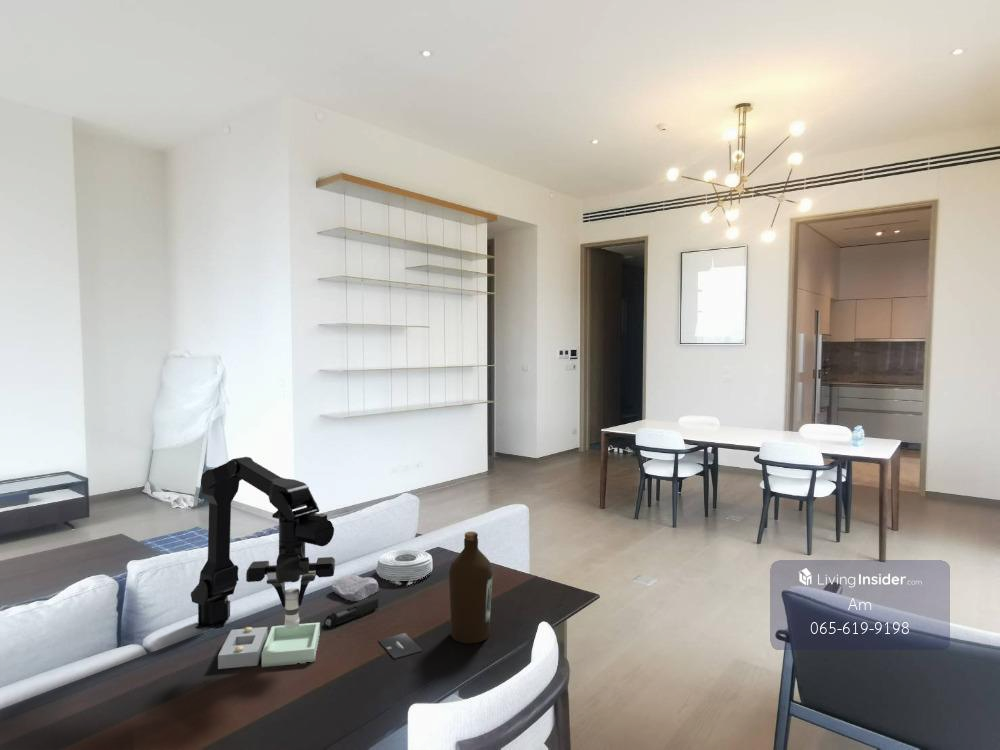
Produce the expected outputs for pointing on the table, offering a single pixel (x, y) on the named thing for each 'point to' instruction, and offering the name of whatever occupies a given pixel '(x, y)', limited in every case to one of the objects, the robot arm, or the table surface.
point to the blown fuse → (291, 608)
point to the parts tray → (291, 645)
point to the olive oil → (470, 593)
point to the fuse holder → (243, 647)
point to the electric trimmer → (350, 613)
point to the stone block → (355, 587)
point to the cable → (404, 565)
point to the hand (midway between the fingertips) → (292, 605)
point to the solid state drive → (400, 646)
